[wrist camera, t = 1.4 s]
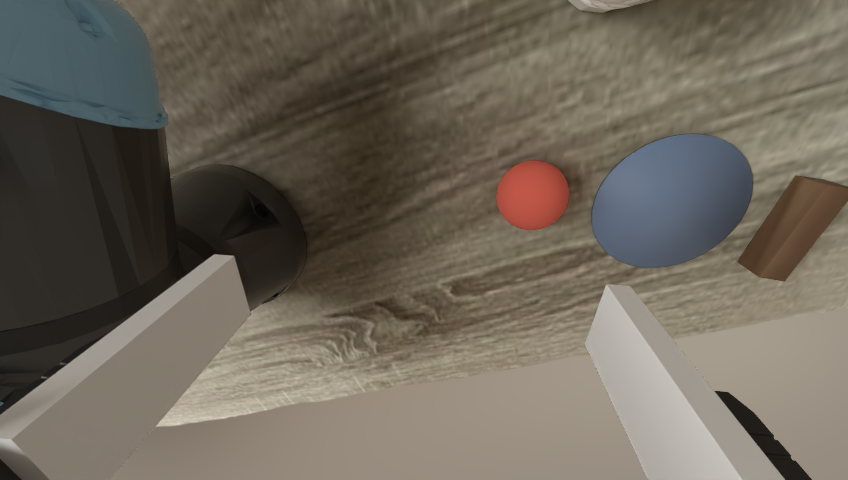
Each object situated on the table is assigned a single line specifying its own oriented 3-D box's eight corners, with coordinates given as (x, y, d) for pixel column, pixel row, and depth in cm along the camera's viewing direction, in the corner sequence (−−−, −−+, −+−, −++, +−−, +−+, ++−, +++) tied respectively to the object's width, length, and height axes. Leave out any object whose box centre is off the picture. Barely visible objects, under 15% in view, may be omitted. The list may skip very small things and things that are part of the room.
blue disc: (572, 254, 31) (573, 256, 31) (623, 123, 25) (624, 123, 25) (702, 276, 30) (704, 277, 30) (785, 145, 24) (787, 146, 24)
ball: (488, 209, 30) (492, 235, 25) (502, 149, 27) (509, 165, 22) (548, 218, 29) (564, 247, 25) (568, 158, 27) (589, 177, 22)
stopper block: (737, 261, 29) (759, 277, 27) (795, 175, 25) (826, 185, 23) (760, 265, 29) (784, 281, 27) (822, 179, 25) (856, 189, 23)
